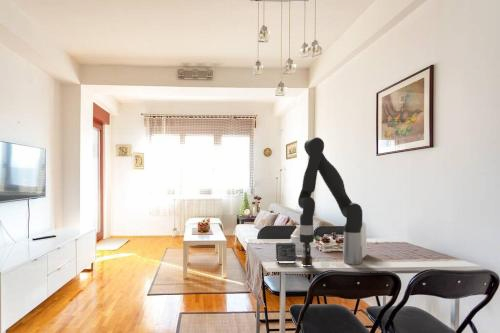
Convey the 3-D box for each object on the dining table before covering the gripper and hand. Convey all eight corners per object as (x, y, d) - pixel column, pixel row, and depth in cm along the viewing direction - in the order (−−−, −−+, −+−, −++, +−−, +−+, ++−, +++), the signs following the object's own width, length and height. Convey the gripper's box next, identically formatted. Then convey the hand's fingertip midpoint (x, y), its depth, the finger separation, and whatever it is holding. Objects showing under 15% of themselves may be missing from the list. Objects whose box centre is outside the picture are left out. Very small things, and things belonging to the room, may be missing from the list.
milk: (348, 252, 225) (347, 211, 226) (367, 254, 219) (366, 211, 220) (342, 256, 215) (342, 212, 215) (362, 258, 209) (361, 213, 209)
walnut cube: (310, 264, 197) (310, 255, 197) (312, 266, 192) (312, 257, 192) (301, 264, 197) (301, 255, 197) (302, 266, 192) (302, 257, 192)
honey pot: (308, 257, 212) (308, 227, 212) (287, 256, 214) (286, 226, 215) (309, 252, 224) (309, 224, 225) (289, 252, 227) (288, 223, 227)
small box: (294, 260, 205) (294, 242, 205) (296, 263, 199) (295, 244, 199) (275, 260, 205) (275, 242, 205) (277, 263, 198) (276, 244, 198)
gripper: (315, 235, 187) (315, 268, 187) (311, 231, 202) (312, 261, 201) (301, 235, 188) (301, 268, 187) (298, 231, 202) (298, 261, 202)
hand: (306, 264), depth 194 cm, fingers closed on walnut cube, 5 cm apart
